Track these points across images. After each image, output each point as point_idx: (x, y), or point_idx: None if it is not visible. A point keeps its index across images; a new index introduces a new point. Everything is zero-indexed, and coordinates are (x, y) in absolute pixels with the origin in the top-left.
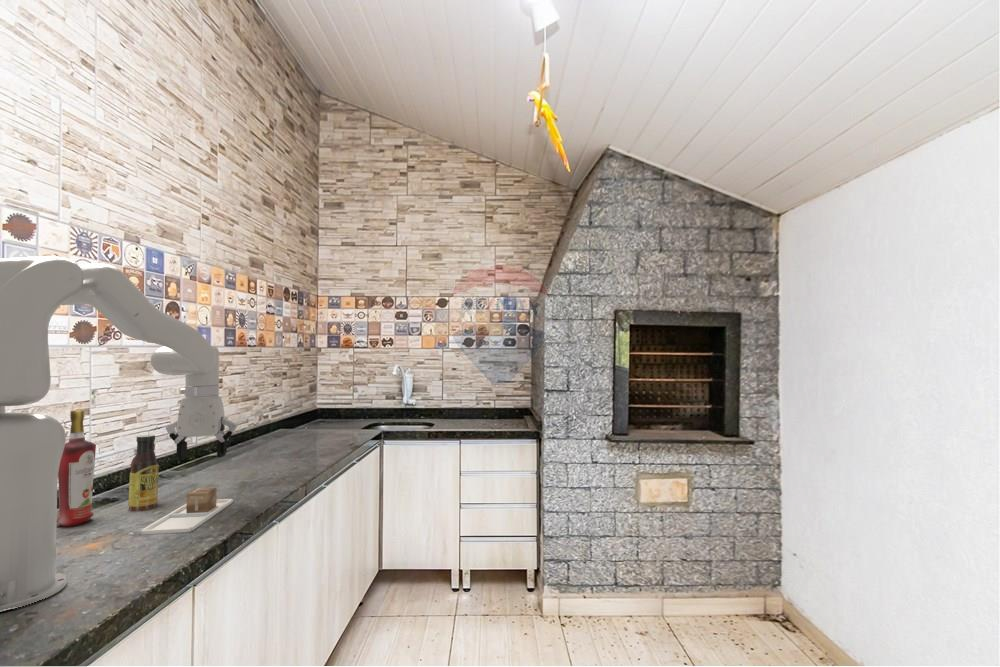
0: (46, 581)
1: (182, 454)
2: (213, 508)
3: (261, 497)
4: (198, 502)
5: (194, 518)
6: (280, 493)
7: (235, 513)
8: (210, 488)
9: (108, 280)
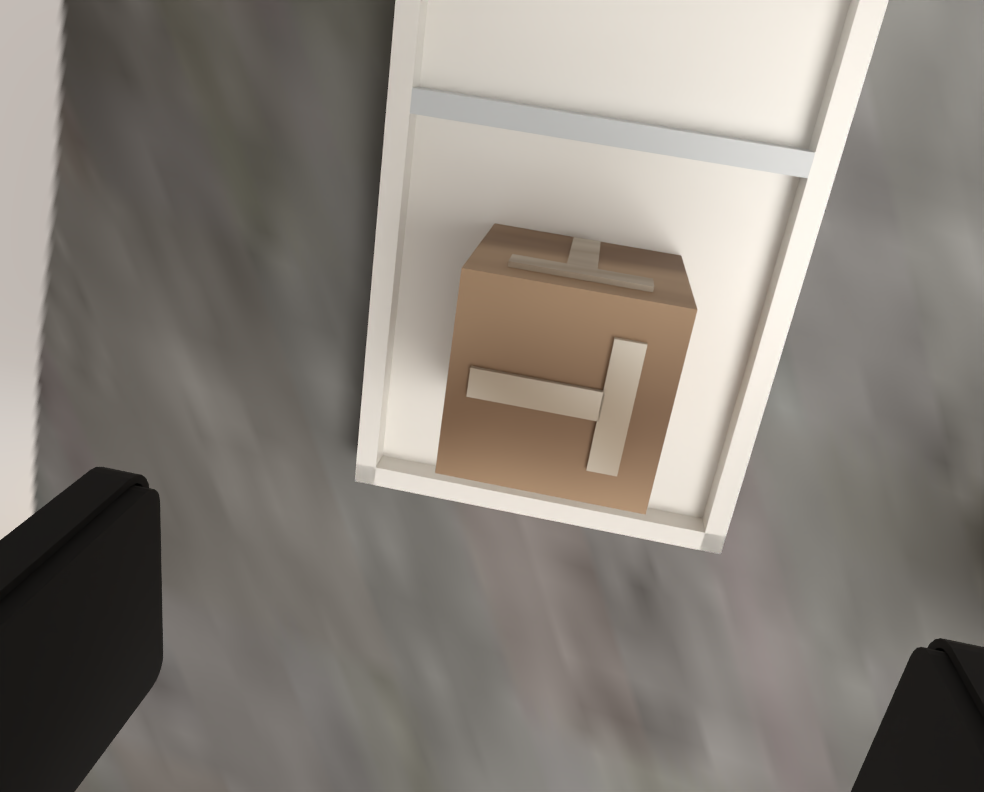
0: None
1: (924, 752)
2: None
3: (212, 571)
4: (565, 257)
5: (553, 50)
6: None
7: (265, 198)
8: (484, 443)
9: None
